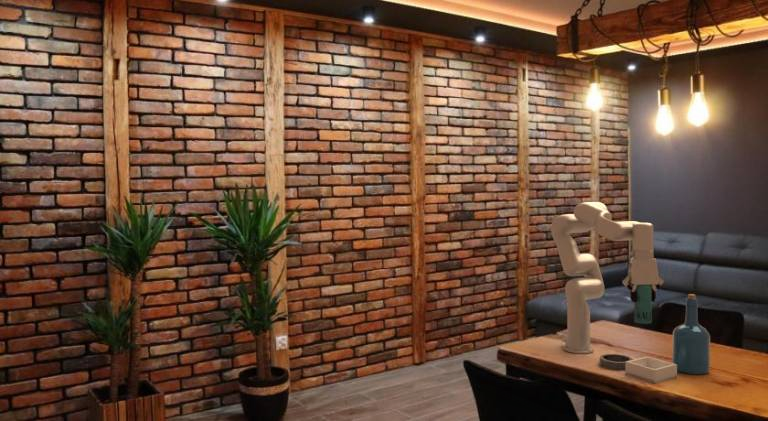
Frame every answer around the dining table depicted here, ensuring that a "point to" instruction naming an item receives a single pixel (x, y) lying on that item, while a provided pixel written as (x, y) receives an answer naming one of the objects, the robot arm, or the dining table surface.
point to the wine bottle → (691, 342)
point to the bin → (651, 369)
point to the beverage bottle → (643, 304)
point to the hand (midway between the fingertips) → (643, 301)
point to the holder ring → (614, 361)
